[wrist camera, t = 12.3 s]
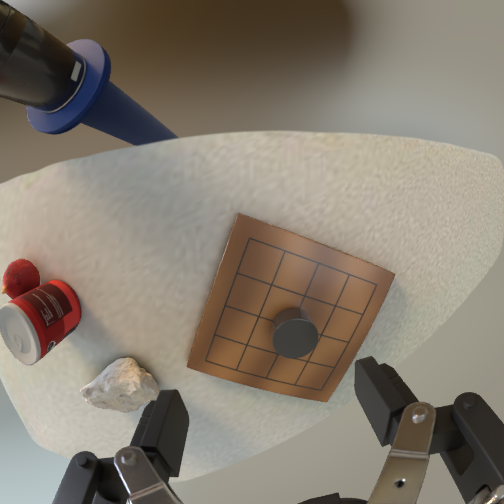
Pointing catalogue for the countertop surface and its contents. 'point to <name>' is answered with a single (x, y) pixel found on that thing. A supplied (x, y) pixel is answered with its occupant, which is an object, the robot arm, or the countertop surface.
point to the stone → (121, 387)
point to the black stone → (293, 333)
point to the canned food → (39, 320)
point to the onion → (20, 278)
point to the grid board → (278, 299)
